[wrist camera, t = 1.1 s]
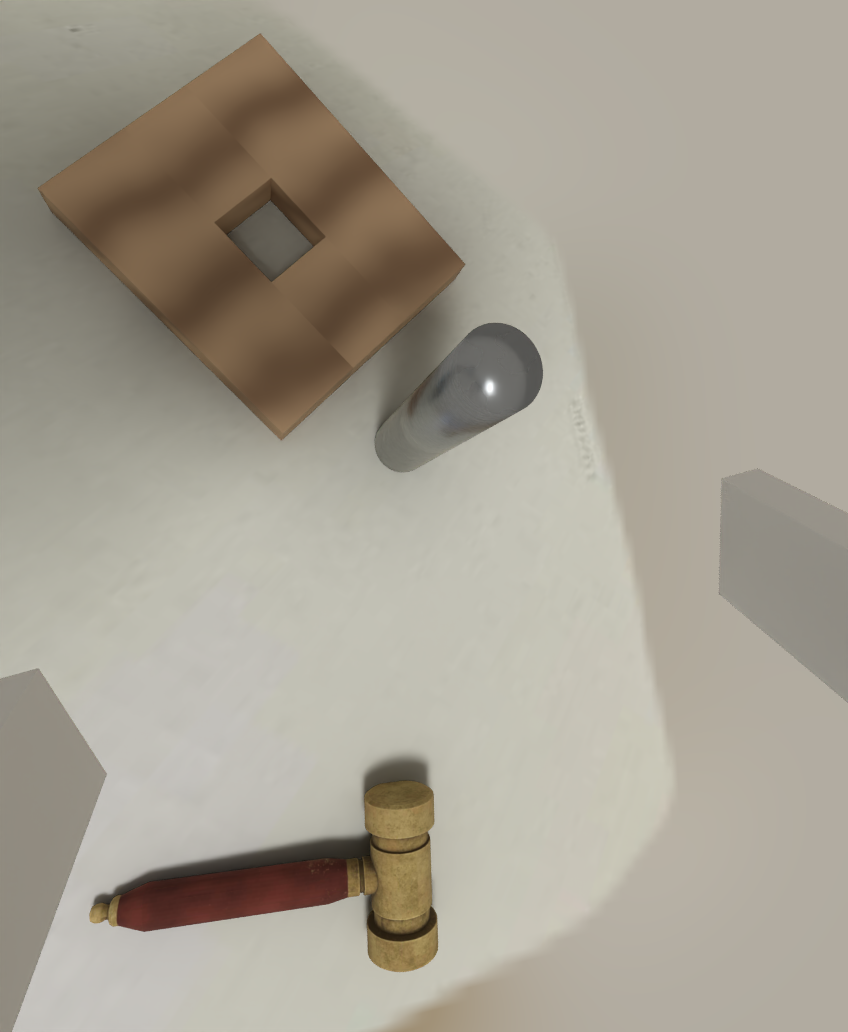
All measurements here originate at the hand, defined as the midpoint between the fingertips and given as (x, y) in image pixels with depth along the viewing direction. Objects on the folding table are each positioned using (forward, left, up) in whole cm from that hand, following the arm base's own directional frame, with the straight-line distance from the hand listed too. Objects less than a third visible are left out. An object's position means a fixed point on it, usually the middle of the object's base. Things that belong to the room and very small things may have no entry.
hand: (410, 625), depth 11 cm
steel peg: (-1, +12, -30) cm, 32 cm away
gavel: (+12, -15, -31) cm, 36 cm away
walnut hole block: (-17, +15, -30) cm, 38 cm away
